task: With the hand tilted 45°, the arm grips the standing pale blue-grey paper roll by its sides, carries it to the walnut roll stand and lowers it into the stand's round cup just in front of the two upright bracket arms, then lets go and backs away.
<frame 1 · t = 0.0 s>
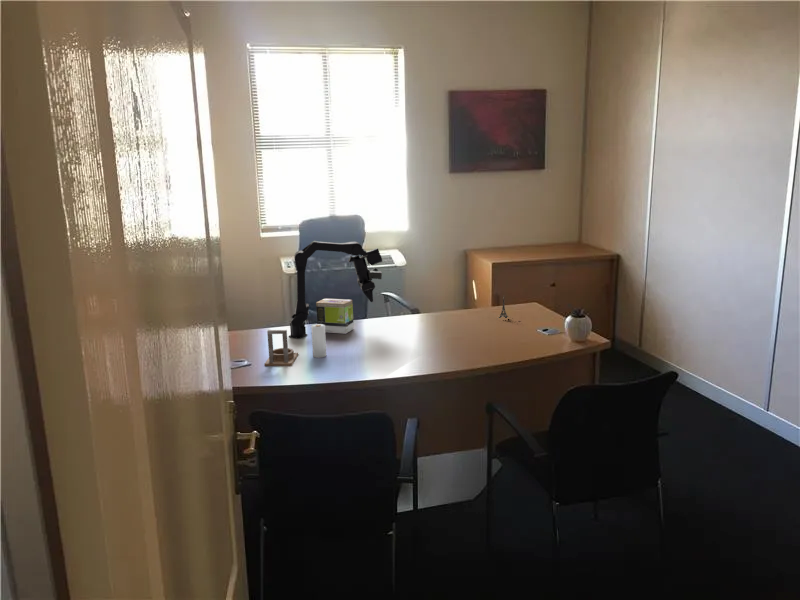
hand: (370, 299, 294), 15 cm above the table, tool pointing down, fingers open, 9 cm apart
stand: (282, 359, 259), on the table
eiffel tower figurine: (504, 320, 314), on the table
roll: (319, 355, 263), on the table
tea box: (335, 330, 301), on the table
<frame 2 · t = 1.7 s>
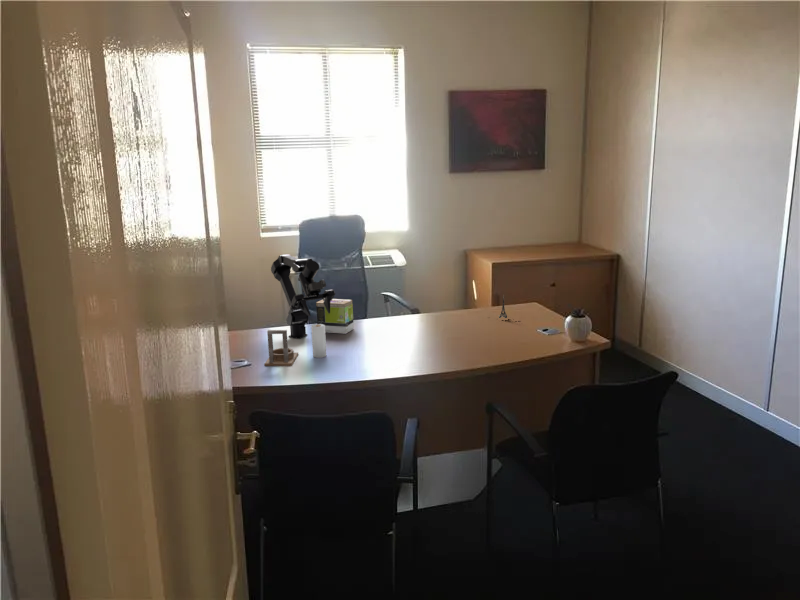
hand: (319, 314, 268), 16 cm above the table, tool tilted 40°, fingers open, 9 cm apart
nothing on the table moved.
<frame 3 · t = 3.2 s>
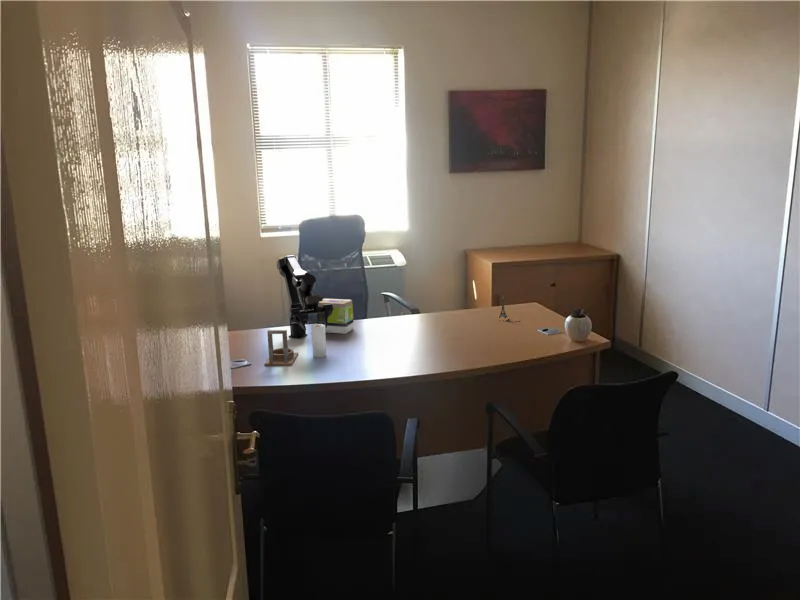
hand: (316, 328, 263), 11 cm above the table, tool tilted 45°, fingers open, 9 cm apart
nothing on the table moved.
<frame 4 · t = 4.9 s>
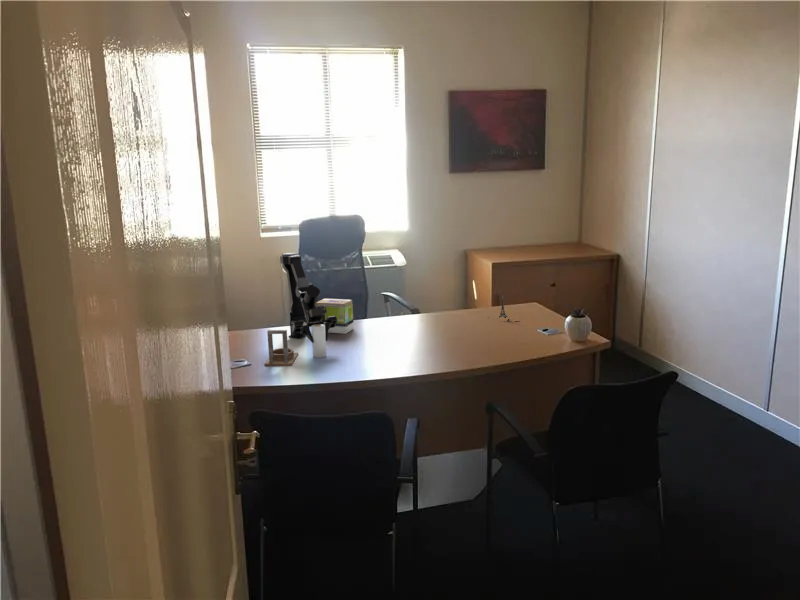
hand: (320, 341, 260), 7 cm above the table, tool tilted 45°, fingers closed on roll, 6 cm apart
roll: (319, 355, 263), on the table, touching gripper
everything else where it was.
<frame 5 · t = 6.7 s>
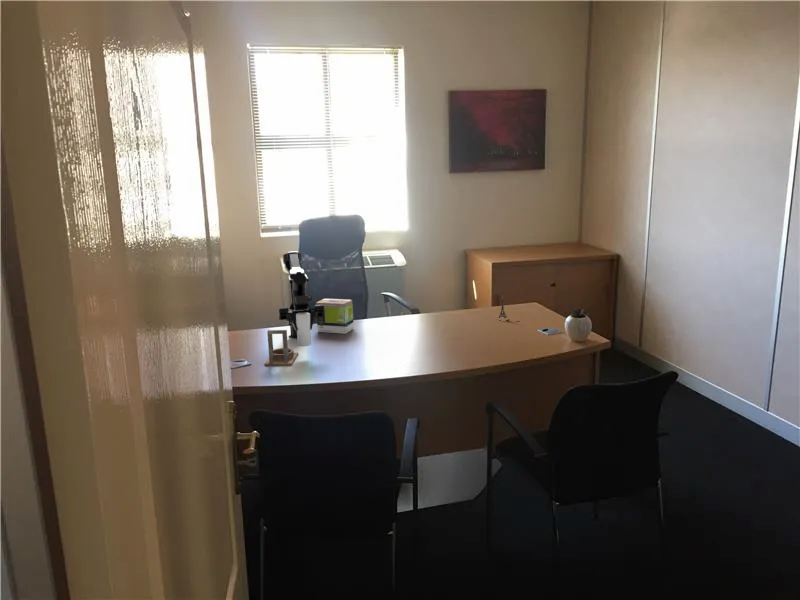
hand: (303, 329, 257), 12 cm above the table, tool tilted 45°, fingers closed on roll, 6 cm apart
roll: (304, 344, 260), point 6 cm above the table, touching gripper
everything else where it was.
when the fingers open (8 cm above the table, at t = 8.9 s): roll stays where it is, resting on stand.
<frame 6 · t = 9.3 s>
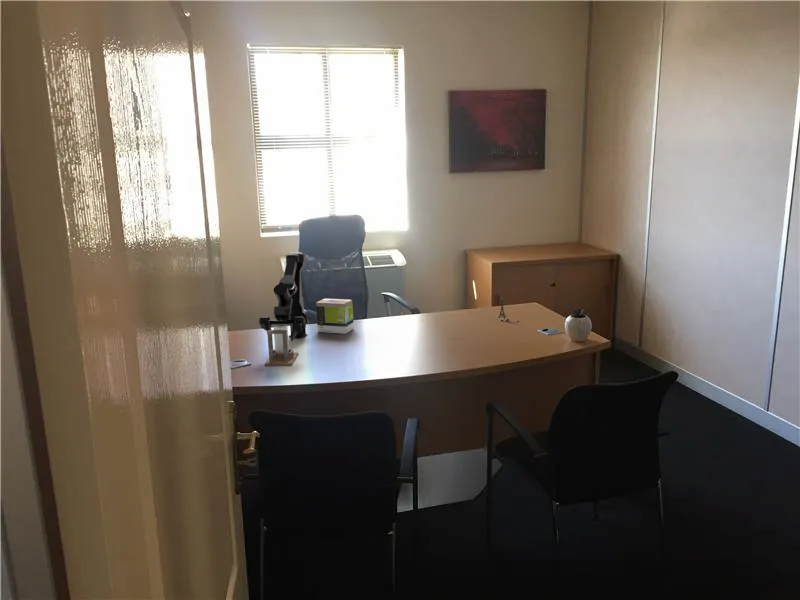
hand: (280, 340, 256), 9 cm above the table, tool tilted 45°, fingers open, 9 cm apart
roll: (282, 357, 259), point 1 cm above the table, touching stand
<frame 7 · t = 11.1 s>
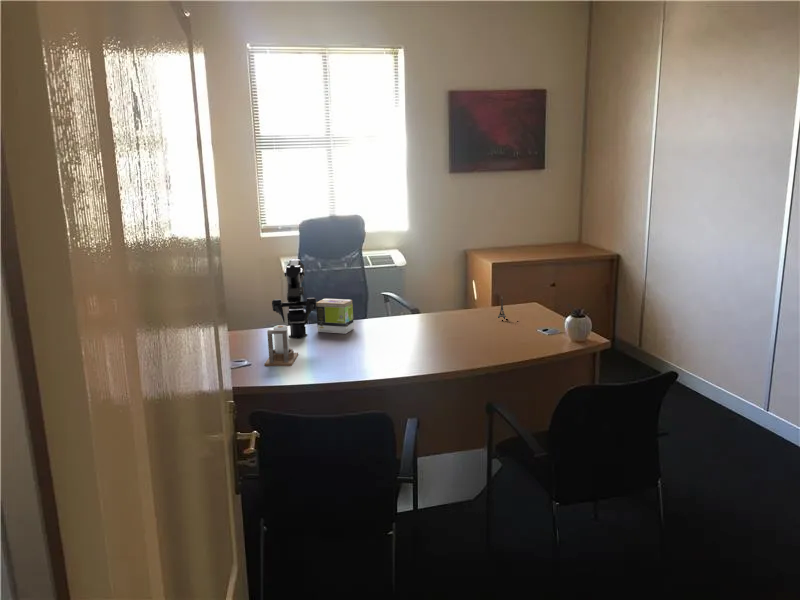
hand: (294, 321, 266), 13 cm above the table, tool tilted 45°, fingers open, 9 cm apart
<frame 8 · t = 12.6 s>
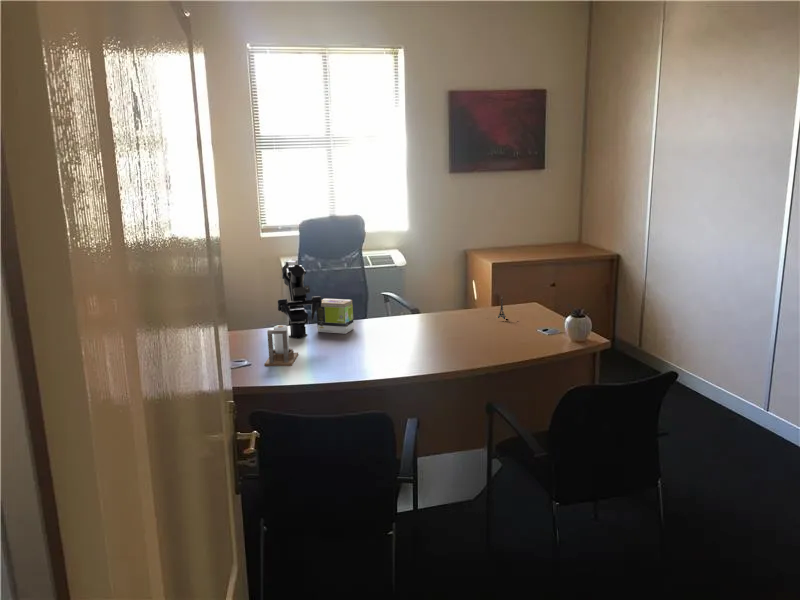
hand: (301, 320, 267), 14 cm above the table, tool tilted 45°, fingers open, 9 cm apart
at the end: roll 0.1 cm off-centre on the stand, point 1.0 cm above the stand's base; roll tilted 0°; the gripper is holding nothing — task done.
